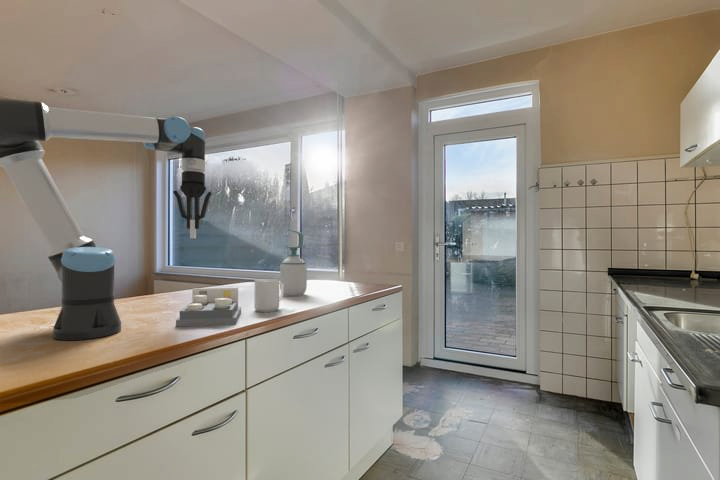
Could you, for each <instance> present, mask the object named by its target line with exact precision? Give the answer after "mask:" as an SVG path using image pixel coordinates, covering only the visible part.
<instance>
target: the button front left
mask: <svg viewBox="0 0 720 480" xmlns="http://www.w3.org/2000/svg"><path fill="white" fill-rule="evenodd" d="M186 306H187V310H202V304H200V303H194V304H190V303H188V304H187V305H186Z"/></svg>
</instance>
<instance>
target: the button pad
mask: <svg viewBox="0 0 720 480" xmlns="http://www.w3.org/2000/svg"><path fill="white" fill-rule="evenodd" d="M191 290H192V291H191V292H192V293H191V295H192V297H191V298H192V299H191V301H192V302H190V303H189V304H193V296H195V295H207V305H204V306H202V310H187V305H186V306H185V307H183V308H182V309H181V310H179V317H178V318H176V319H175V327H193V326H194V327H195V326H197V327H198V326H200V327H201V326H218V325H221V326H222V325H236V324H237V322H238V320H239V318H240V316H241V314H242V307H241V306H239V287H208V288H207V287H202V288H201V287H200V288H199V287H198V288H197V287H196V288H192V289H191ZM217 298H229V299H232V305H229V309H215V299H217Z"/></svg>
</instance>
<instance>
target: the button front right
mask: <svg viewBox="0 0 720 480" xmlns="http://www.w3.org/2000/svg"><path fill="white" fill-rule="evenodd" d="M215 309H229V298H217V299H215Z"/></svg>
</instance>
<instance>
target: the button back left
mask: <svg viewBox="0 0 720 480" xmlns="http://www.w3.org/2000/svg"><path fill="white" fill-rule="evenodd" d="M194 303H200V304H202V306H204V305H207V295H195V296H193V304H194Z"/></svg>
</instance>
